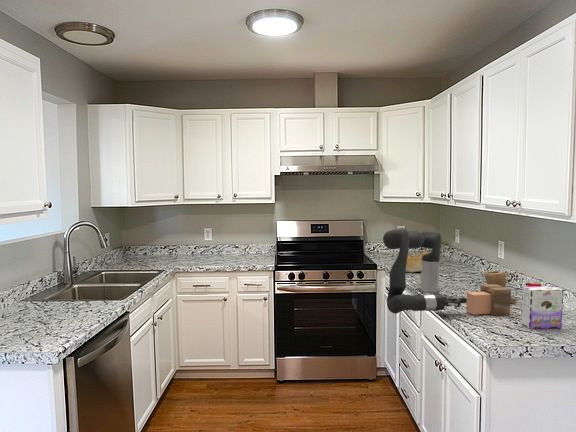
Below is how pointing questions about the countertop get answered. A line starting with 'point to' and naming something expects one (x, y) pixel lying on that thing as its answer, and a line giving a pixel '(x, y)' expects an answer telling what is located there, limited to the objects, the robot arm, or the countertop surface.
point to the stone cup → (497, 279)
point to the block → (479, 302)
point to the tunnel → (498, 298)
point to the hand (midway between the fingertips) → (465, 300)
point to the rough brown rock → (415, 262)
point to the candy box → (542, 307)
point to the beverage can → (533, 284)
